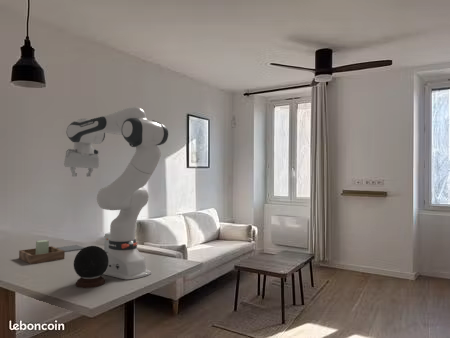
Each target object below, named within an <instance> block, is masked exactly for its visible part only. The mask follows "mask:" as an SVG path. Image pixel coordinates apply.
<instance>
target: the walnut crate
mask: <svg viewBox="0 0 450 338" xmlns="http://www.w3.org/2000/svg"><path fill="white" fill-rule="evenodd" d="M65 253H66V252H65V251H63V250H61V249H58V248H57V247H55V246H53V245H51V246H49V250H48V253H44V254H37V255H36V247H35V248H28V249H19V250H18V259H19V260H21V261H24V262H25V263H28V264H29V265H34V264H39V263H40V264H41V263H46V262H53V261H58V260H59V261H60V260H64V259H65V257H66V256H65Z"/></svg>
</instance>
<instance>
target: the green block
mask: <svg viewBox="0 0 450 338" xmlns="http://www.w3.org/2000/svg"><path fill="white" fill-rule="evenodd" d="M49 241H50V240H46V239H44V240H43V239H42V240H36V241H35V248H36V255H37V254H44V253H48V250H49V247H50V246H49V244H50V242H49Z"/></svg>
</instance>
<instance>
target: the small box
mask: <svg viewBox="0 0 450 338" xmlns="http://www.w3.org/2000/svg"><path fill="white" fill-rule="evenodd" d="M109 240H110V231H108V232H105V233H104V243H103V247H104V249H103V250H104V251H105V252H106V253H108V251H109Z"/></svg>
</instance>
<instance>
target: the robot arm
mask: <svg viewBox="0 0 450 338" xmlns="http://www.w3.org/2000/svg"><path fill="white" fill-rule="evenodd" d="M65 132H66V136H67V138H68V139H69V140H70V141H71V142H72V143H73V148H68V149H67V150H66V151H65V156H64V161H63V162H64V163H63V165H64V167H65V168H69V170H70V172H71V177H74V178H75V177H77V175H78V173H77V172H76V168H78V169H79V168H82V169H87V170H88V172H86V177H87V178H91V176H92V173H93V171H94V169H98V168H99V167H100V157H99V155H100V151H99V150H98V149H96V148H95V147H93V144H94V145H97V144H98V145H99V144H101V143H103V142H104V140H105V138H106V134H112V135H122V137H123V138H124V140H125V141H126V142H127V143H128V144H129V146H130V147H132V148H135V153H134V154H133V156H132V157H131V159H130V161H129V163H128V165H127V166H126V168H125V169H124V171H123V172H122V173H121V175H119V176H118V177H117V178H116V179H115V180H114V181H112V182H111V183H110V184H108V185H106V186H104V187H101V188H100V189H99V190H98V193H97V195H96V202H97V205H98V207H99V208H100V209H102V210H107V211H119V214H117V216H116V217H115V218H114V219H113V220H112V221H111V222H110V228H109V232H110V240H109V251H108V252H106V253H107V255H108V261H109V262H108V267H107V269H106V271H105V272H104V273H103V274H102V275H104V276H105V275H106V276H108V277H113V278H117V279H122V280H133V279H139V278H143V277H146V276H149V275H151V274H152V271H151V270H149V269H148V268H147V265H146V264H147V263H146V257H144V256H143V255H142V253H141V252H140V251H139V250H138V242H137V240H136V226H137V225H136V224H137V220H138V217H139V215H140V214H141V213H140V212H141V211H142V209H144V207H145V206H146V205H147V204H148V202H149V193H148V191H147V189H146V188H145V186H146V185H147V183H148V181H149V180H150V179H151V177H152V175H153V174H154V172H155V170H156V168H157V167H158V164H159V162H160V158H161V155H162V152H161V149H160V147H158V146H162V145H164V144H165V143H166V142H167V141H168V137H169V130H168V127H167V126H166V125H164V124H163V123H161V122H159V121H156V120H155V119H154V120H153V119H152V120H149V119H148V118H147V114H146V112H145V111H144V109H142V108H141V107H139V106H132V107H126V108H123V109H121V110H117V111H114V112H113V113H112V112H111V113H109V114H107V115H102V116H98V117H95V118H91V119H89V118H80V119H77V120H76V121H72V122H71V123H70V124H69V125H68V126H67V128H66V131H65Z"/></svg>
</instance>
